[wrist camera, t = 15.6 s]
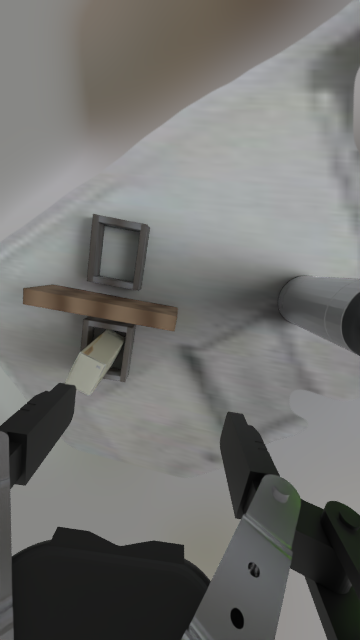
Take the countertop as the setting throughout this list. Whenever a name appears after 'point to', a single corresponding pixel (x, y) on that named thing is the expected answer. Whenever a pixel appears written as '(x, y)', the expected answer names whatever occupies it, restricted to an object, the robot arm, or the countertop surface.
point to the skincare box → (95, 361)
